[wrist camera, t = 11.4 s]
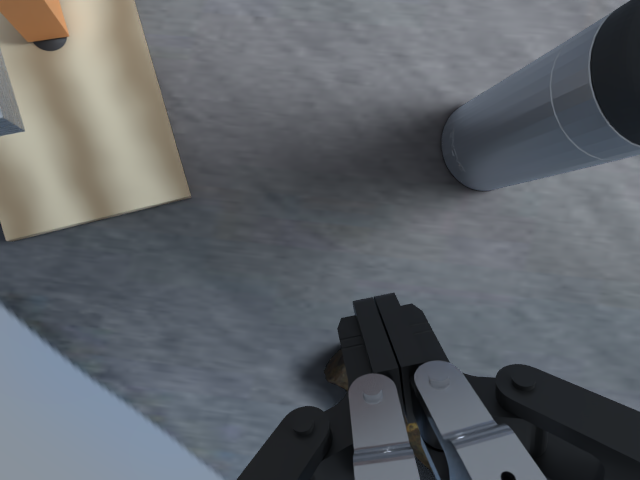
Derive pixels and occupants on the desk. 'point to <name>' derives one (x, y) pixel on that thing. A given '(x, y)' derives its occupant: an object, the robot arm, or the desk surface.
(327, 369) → the hand tool
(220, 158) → the desk surface
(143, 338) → the desk surface
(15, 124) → the bar
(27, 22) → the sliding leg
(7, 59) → the board
